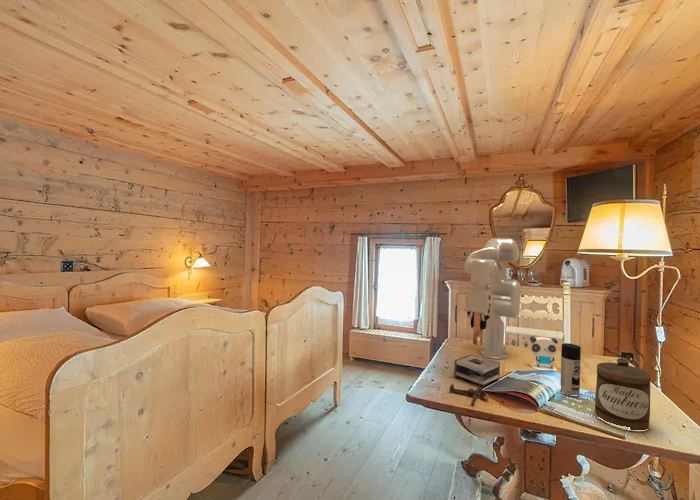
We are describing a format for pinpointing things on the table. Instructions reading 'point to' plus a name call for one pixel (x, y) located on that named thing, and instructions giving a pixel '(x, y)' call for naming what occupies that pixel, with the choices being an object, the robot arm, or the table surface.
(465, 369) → the frame
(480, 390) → the bear figurine
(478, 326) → the tube
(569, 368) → the spray can
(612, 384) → the wooden container
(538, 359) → the panda figurine
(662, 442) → the table surface
